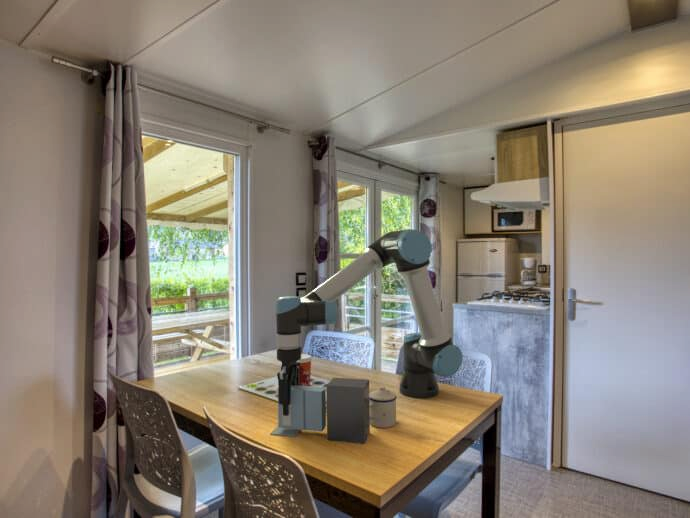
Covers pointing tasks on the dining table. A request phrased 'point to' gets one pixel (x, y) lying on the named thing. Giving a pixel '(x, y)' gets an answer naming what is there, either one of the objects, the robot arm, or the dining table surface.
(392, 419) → the teacup with lid
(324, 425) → the slate blue cuboid
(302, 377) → the coffee cup
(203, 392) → the dining table surface
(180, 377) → the dining table surface
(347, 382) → the dark gray cuboid
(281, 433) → the pad
